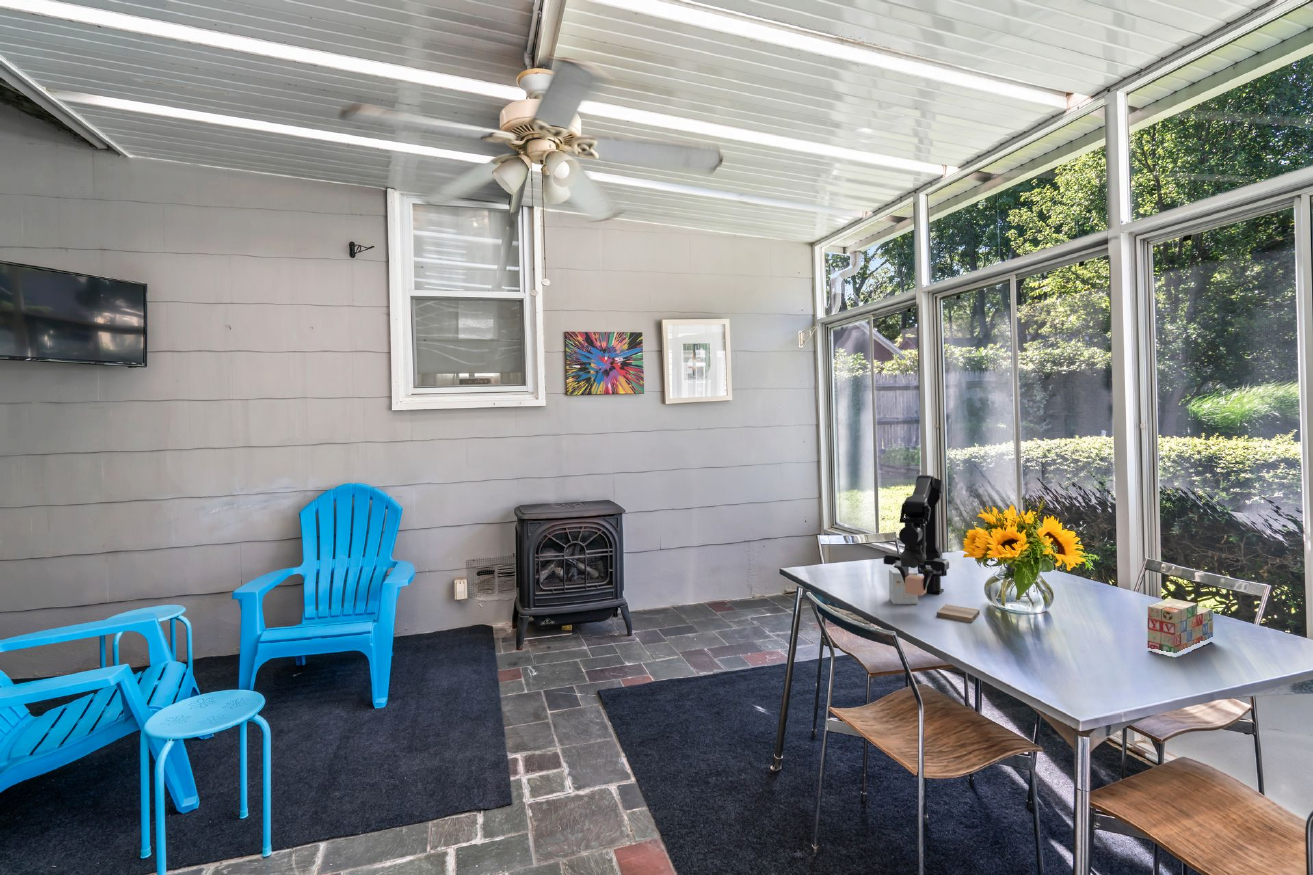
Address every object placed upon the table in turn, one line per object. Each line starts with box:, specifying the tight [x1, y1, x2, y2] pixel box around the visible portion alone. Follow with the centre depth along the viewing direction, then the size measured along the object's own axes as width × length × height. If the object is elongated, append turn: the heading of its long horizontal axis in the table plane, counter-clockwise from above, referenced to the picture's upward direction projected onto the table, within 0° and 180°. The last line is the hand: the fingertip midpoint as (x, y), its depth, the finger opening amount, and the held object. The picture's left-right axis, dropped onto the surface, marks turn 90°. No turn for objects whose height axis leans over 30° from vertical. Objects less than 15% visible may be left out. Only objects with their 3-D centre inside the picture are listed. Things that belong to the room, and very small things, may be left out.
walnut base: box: [936, 604, 981, 624], centre depth 202 cm, size 10×10×2 cm
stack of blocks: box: [1147, 598, 1214, 653], centre depth 172 cm, size 21×6×12 cm, turn 119°
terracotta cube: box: [905, 574, 927, 597], centre depth 206 cm, size 5×5×5 cm
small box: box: [888, 568, 919, 605], centre depth 217 cm, size 8×6×10 cm
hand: (915, 588), depth 206 cm, fingers closed on terracotta cube, 5 cm apart
